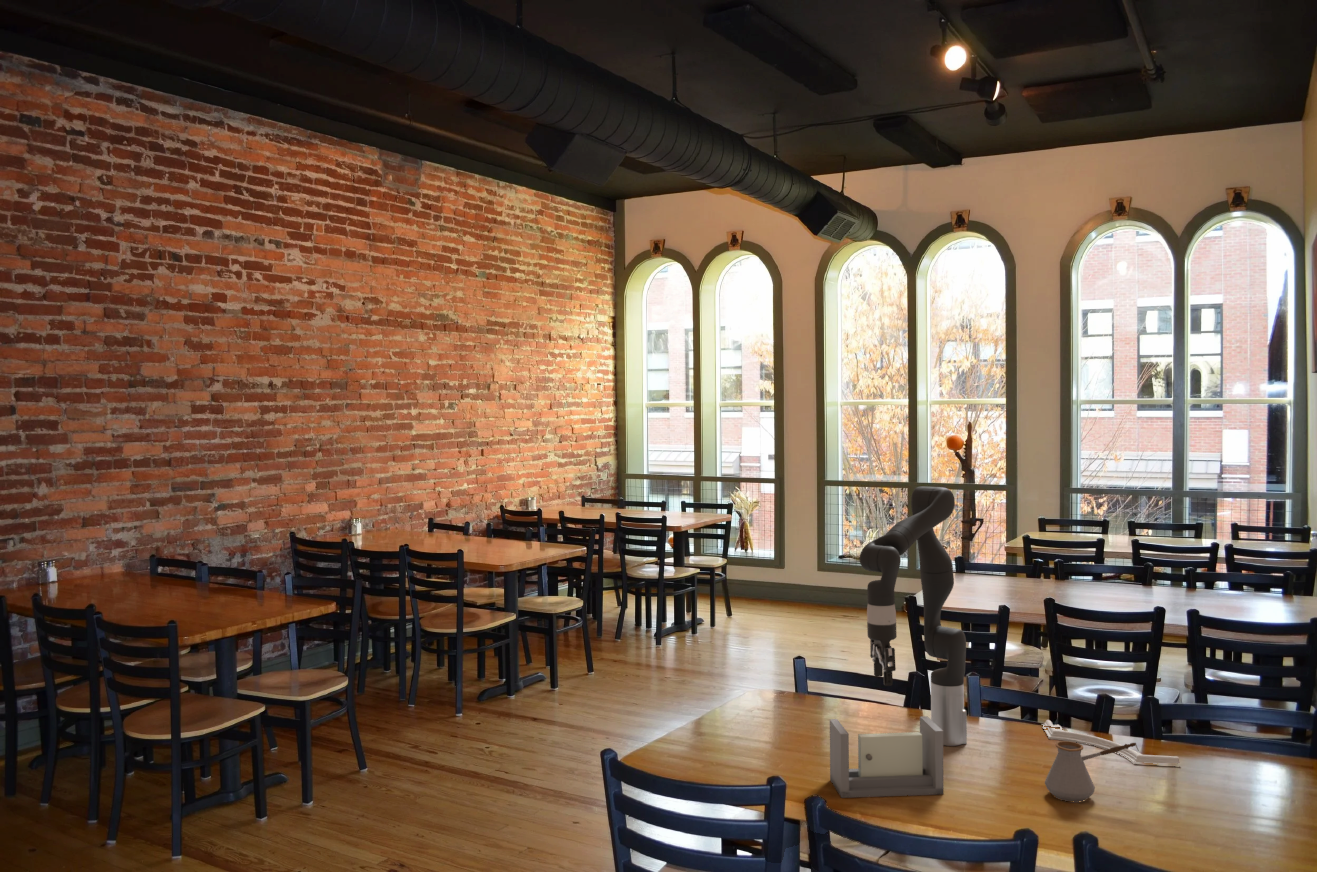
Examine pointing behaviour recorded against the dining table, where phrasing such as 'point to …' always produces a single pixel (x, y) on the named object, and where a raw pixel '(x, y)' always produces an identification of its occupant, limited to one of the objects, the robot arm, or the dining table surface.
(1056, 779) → the coffee pot
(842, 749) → the grey rack
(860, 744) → the door panel
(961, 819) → the dining table surface
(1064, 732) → the molding
